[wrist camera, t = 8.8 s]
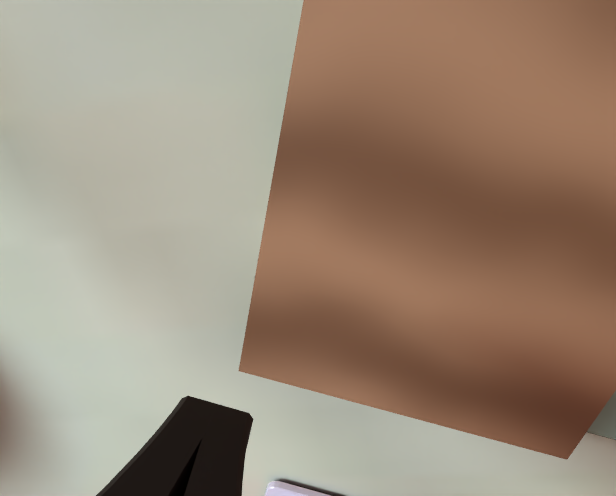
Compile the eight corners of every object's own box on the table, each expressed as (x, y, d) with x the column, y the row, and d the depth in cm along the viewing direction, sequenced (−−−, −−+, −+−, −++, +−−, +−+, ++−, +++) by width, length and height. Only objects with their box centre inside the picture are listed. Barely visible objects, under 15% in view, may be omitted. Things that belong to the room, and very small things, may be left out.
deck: (555, 416, 21) (567, 459, 20) (252, 335, 22) (238, 370, 20) (852, -49, 13) (918, -43, 11) (344, -163, 13) (334, -175, 12)
